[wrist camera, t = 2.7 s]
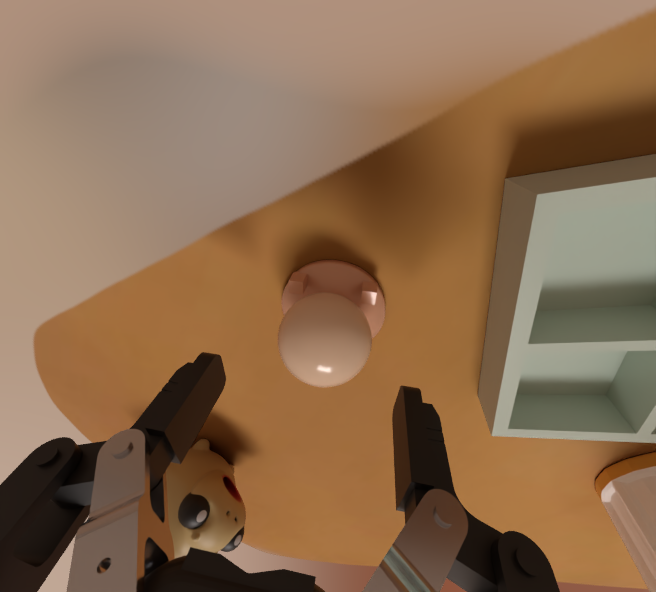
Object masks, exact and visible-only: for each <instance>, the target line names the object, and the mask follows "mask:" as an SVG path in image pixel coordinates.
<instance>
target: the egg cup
mask: <svg viewBox="0 0 656 592" xmlns="http://www.w3.org/2000/svg"><path fill="white" fill-rule="evenodd" d="M319 292H330V293H336V294H339V295H342V296H344V297H347V298H348V299H350V300H351V301H353V302H354V303H355V304H356V305H357V306H358V307H359V308H360V309H361V310H362V311H363V313H364V314H365V316H366V318H367V320H368V322H369V325H370V329H371V335H372V338H373V337H374V336H375V335H376V334H377V333H378V332H379V330H380V329H381V327H382V325H383V322H384V318H385V300H384V295H383V293H382V290H381V288H380V286H379V285H378V283H377V282H376V281H375V279H374V278H373V277H372V276H371V275H370V274H368V273H367V272H366V271H365V270H363V269H361V268H360V267H358V266H356V265H354V264H351V263H348V262H345V261H340V260H320V261H315V262H312V263H309V264H307V265H305V266H303V267H302V268H300V269H299V270H298V271H296V272H293V274H292V276H291V277H290V279H289V282H288V283H287V285H286V287H285V289H284V292H283V295H282V310H283V313H284V316H285V314H286V312H287V311H288V310H289V309H290V307H291V306H292V305H293V304H294V303H296V302H297V301H298V300H300V299H302V298H303V297H305V296H308V295H310V294H314V293H319Z"/></svg>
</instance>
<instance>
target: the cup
mask: <svg viewBox="0 0 656 592" xmlns="http://www.w3.org/2000/svg"><path fill="white" fill-rule="evenodd" d="M595 488H596V492H597V494H598V495H599V497H600V499H601V501H602V503H603V505H604V507H605V509H606V511H607V512H608V514H609V516H610V518H611V520H612V522H613V524H614V526H615V527H616V529H617V531H618V533H619V535H620V537H621V539H622V541H623V542H624V544H625V546H626V548H627V550H628V552H629V554H630V555H631V557H632V559H633V561H634V563H635V565H636V567H637V569H638V570H639V572H640V574H641V576H642V578H643V580H644V582H645V584H646V585H647V587H648V589H649V591H650V592H656V452H653V453H648V454H644V455H640V456H636V457H632V458H628V459H625V460H623V461H620V462H618V463H616V464H614V465H612V466H609V467H607V468H605V469H604V470H603V472H602V473H601V474H600V475H599V476H598V478H597V479H596V481H595Z"/></svg>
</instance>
